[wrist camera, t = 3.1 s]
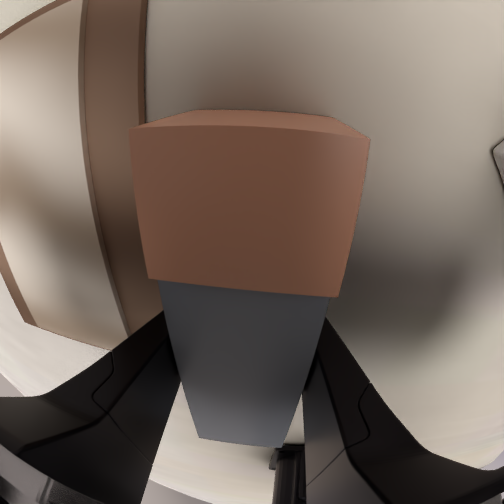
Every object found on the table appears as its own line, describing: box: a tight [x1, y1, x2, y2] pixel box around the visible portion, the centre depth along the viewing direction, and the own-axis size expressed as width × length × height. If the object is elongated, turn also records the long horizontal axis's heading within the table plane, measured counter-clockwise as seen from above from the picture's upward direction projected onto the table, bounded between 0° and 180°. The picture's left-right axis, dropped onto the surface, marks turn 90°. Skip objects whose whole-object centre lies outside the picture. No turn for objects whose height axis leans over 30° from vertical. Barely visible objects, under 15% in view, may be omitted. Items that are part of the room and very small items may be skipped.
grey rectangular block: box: [128, 110, 370, 448], centre depth 9 cm, size 12×4×4 cm, turn 178°
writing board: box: [0, 0, 163, 351], centre depth 9 cm, size 16×11×1 cm
